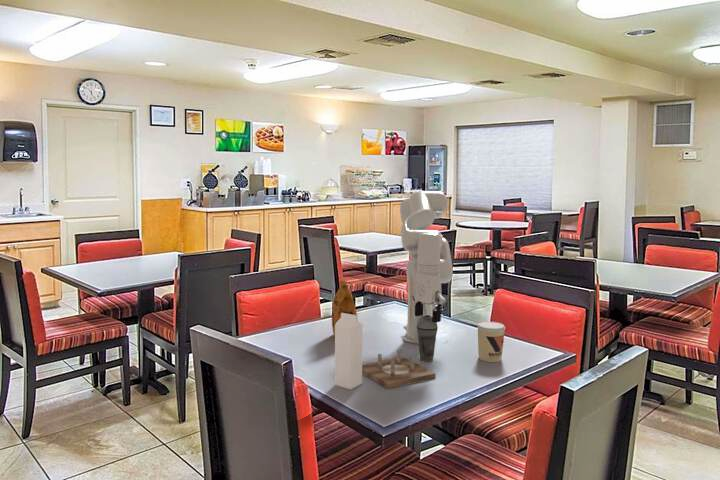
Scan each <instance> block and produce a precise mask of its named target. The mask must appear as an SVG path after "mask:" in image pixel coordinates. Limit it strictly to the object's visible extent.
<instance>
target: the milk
mask: <svg viewBox="0 0 720 480" xmlns="http://www.w3.org/2000/svg"><path fill="white" fill-rule="evenodd" d="M357 320H358V315H357V316H356V315H351V314H346V313H341V318H340V319H339V320H338V322H337V323H336V324H335V336H334V385H335V386H337V387H341V388H343V389H347V390H352V389H355V388H357V387H358V386H360V385H362V384H363V373H362V365H363V323H362V322H360V321H359V320H358V321H357Z"/></svg>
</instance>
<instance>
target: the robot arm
mask: <svg viewBox="0 0 720 480" xmlns="http://www.w3.org/2000/svg"><path fill="white" fill-rule="evenodd" d="M447 210H448V199H447V195H446V194H445V193H444V192H442V191H440V190H439V191H436V190H435V191H433V190H432V191H431V190H430V191H427V190H422V191H421V190H420V191H416V192H414V193H412V194H411V195H410V197H409V198H405V199H403V200H402V201H401V202H400V205H399V214H400V220H401V223H402V224H401V229H400V236H401V238H400V239H401V244H402V245H401V246H402V247H403V249H404V250H405V251H406V252H408V256H409V258H410V259H409V260H408V261H407V262H406V265H405V272H406V280H407V322H406V323H407V324H406V325H403V329H404V330H406V332H405V333H404V334H403V336H402V338H403V339H402V340H404V341H405V342H407V343H410V344H415V345H416V344H418V345H419V340H418V331H417V323H418V321H419V319H420V318H421V317H422V316H425V313H424V303H425V308H426V315H429V316H432V322H433V323H435V322H437V323H440V322H441V321H442V310H443V308H444V307H445V304H446V301H447V300H446V298H445V297H444V296H443V295H442V284H448V283H450V282H451V281H452V279H453V277H454V276H453V275H454V273H453V271H454V270H453V263H452V254H451V249H450V244H449V241H448V239H446V238H444V237H443V235H442V233H441V232H440V231H439V230H435V229H428V228H429V227H430V226H431V225H432V224H433V223H434V221H435V219H441V218H442V217H443V216H444V215H445V214H446V212H447Z"/></svg>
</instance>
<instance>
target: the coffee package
mask: <svg viewBox="0 0 720 480" xmlns="http://www.w3.org/2000/svg"><path fill="white" fill-rule="evenodd" d="M339 284H340V287H339V289H338V290H337V292H336V293H335V295H334V297H333V302H332V311H331V326H332V333H333V335H334V337H335V324H336V323H337V322H338V320H339V319H340V318H341V313H346V314H351V315H356V316H357V317H358V312H357V310H356V305H355V301H354V298H353V294H352V292H351V290H350V287H348V286H349V282H348V281H346V280H344V279H341V280H339ZM357 321H358V322H359V320H358V319H357Z"/></svg>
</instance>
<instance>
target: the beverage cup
mask: <svg viewBox="0 0 720 480" xmlns="http://www.w3.org/2000/svg"><path fill="white" fill-rule="evenodd" d="M424 313H425V316H422V317H421V318H420V319H419V321H418V323H417V331H418V340H419V344H418V351H419V353H418V354H419V360H420V361H421V362H423V361H424V363H431V362H433V361H434V356H435V349H436V348H435V347H436V340H437V333H438V329H439V326H438V322H435V323H433V322H432V316H429V315H426V308H425V303H424Z"/></svg>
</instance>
